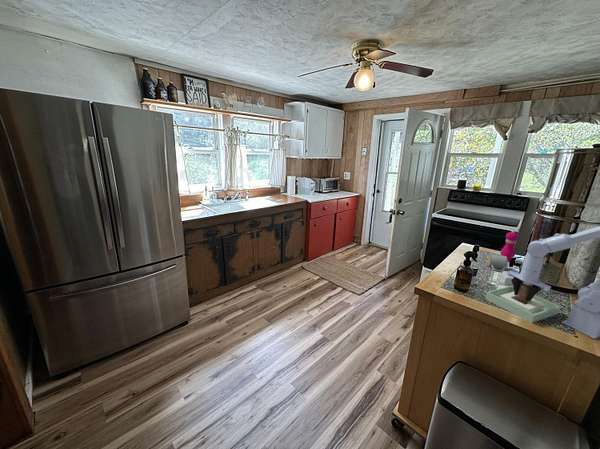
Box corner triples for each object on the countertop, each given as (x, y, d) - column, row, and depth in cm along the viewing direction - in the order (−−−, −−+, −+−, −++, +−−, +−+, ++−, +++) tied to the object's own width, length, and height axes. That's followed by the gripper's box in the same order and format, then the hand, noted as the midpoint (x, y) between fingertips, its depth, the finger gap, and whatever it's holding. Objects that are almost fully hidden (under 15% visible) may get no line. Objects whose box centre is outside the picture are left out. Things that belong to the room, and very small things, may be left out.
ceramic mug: (485, 263, 152) (488, 252, 150) (502, 266, 149) (505, 254, 147) (489, 270, 143) (493, 258, 141) (507, 273, 140) (511, 261, 138)
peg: (529, 304, 108) (534, 287, 105) (524, 305, 106) (529, 289, 104) (518, 299, 111) (523, 283, 109) (513, 300, 109) (518, 284, 107)
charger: (519, 278, 135) (527, 290, 123) (498, 273, 140) (503, 285, 127) (521, 270, 134) (529, 282, 122) (500, 266, 138) (505, 277, 126)
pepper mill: (502, 261, 155) (510, 231, 150) (496, 257, 162) (503, 228, 156) (515, 262, 154) (524, 232, 148) (508, 258, 161) (516, 228, 155)
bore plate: (542, 310, 106) (545, 304, 105) (526, 315, 102) (528, 309, 101) (513, 296, 116) (515, 291, 115) (498, 301, 112) (499, 295, 111)
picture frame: (557, 314, 104) (560, 306, 103) (531, 324, 98) (534, 315, 97) (510, 292, 120) (512, 285, 119) (484, 299, 114) (486, 291, 113)
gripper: (559, 275, 99) (548, 305, 103) (517, 260, 112) (509, 287, 116) (548, 278, 96) (538, 308, 100) (507, 262, 109) (499, 290, 113)
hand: (522, 297), depth 108 cm, fingers closed on peg, 4 cm apart
